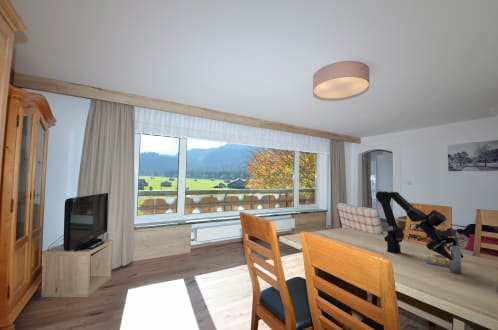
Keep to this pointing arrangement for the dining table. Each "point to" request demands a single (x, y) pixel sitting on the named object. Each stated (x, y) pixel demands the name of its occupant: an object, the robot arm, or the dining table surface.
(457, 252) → the shiny metal cylinder
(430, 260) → the nut plate
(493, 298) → the dining table surface
